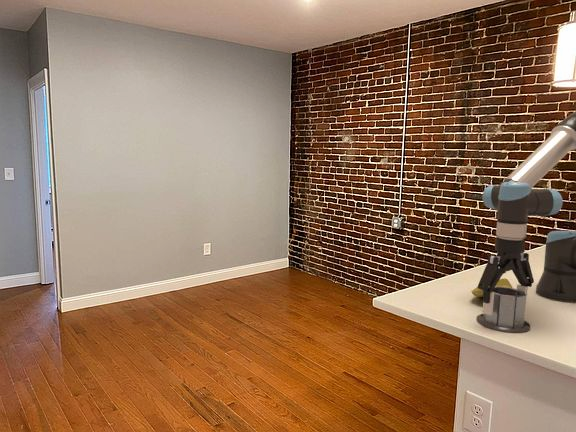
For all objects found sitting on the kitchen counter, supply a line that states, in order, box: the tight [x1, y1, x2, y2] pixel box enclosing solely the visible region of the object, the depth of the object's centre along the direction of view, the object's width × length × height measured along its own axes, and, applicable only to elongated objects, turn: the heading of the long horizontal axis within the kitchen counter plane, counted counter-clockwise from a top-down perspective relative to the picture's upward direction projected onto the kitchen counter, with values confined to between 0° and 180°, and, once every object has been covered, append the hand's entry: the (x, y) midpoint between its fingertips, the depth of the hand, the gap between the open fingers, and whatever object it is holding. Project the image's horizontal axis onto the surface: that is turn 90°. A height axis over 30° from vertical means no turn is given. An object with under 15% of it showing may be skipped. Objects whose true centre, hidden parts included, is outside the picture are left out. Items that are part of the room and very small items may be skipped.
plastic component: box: [471, 277, 514, 299], centre depth 146 cm, size 20×7×10 cm
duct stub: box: [475, 313, 532, 334], centre depth 125 cm, size 14×14×6 cm
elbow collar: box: [483, 286, 527, 329], centre depth 125 cm, size 10×10×9 cm
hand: (504, 310), depth 125 cm, fingers open, 13 cm apart
